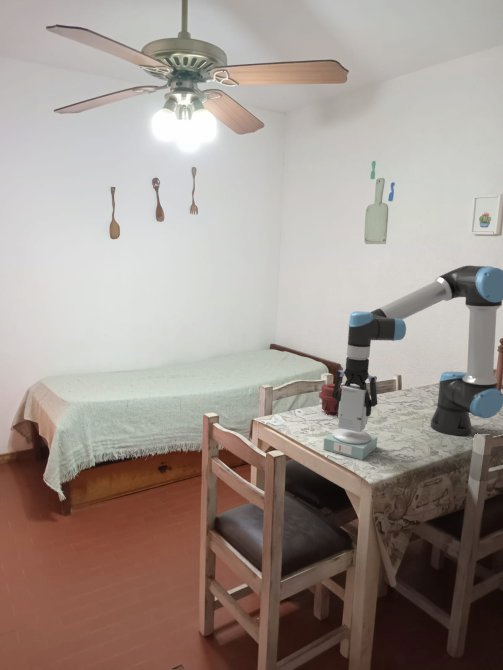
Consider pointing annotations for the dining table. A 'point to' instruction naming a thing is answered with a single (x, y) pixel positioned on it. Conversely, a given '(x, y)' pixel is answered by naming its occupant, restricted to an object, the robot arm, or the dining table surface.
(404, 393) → the dining table surface
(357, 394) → the skincare box
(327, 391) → the mechanical component
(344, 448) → the kitchen scale
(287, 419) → the dining table surface
